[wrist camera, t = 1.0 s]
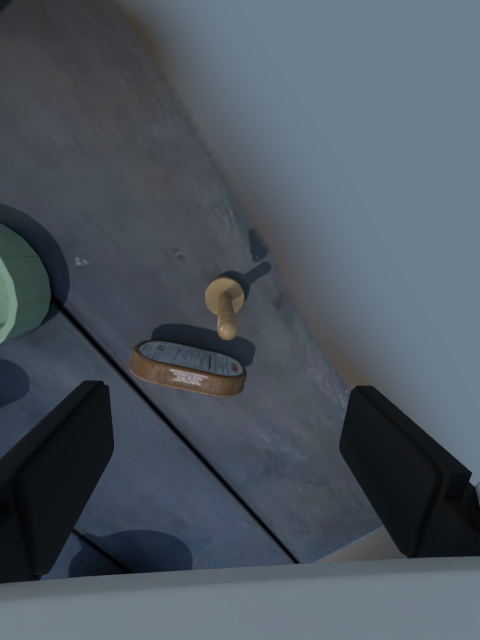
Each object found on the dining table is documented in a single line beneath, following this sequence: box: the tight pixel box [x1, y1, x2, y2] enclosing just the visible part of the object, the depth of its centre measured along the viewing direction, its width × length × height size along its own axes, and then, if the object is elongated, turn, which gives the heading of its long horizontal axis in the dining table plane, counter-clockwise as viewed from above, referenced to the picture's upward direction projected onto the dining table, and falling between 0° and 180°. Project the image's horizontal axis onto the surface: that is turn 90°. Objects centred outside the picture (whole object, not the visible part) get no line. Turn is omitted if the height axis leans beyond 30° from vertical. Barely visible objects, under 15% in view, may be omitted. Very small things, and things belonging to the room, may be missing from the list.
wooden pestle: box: [205, 276, 244, 340], centre depth 25 cm, size 5×5×16 cm
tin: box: [128, 340, 247, 397], centre depth 31 cm, size 15×3×8 cm, turn 74°
